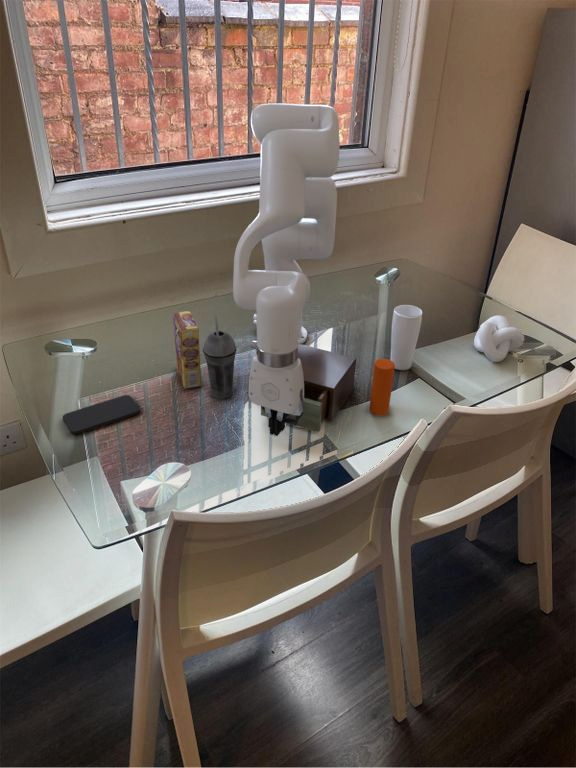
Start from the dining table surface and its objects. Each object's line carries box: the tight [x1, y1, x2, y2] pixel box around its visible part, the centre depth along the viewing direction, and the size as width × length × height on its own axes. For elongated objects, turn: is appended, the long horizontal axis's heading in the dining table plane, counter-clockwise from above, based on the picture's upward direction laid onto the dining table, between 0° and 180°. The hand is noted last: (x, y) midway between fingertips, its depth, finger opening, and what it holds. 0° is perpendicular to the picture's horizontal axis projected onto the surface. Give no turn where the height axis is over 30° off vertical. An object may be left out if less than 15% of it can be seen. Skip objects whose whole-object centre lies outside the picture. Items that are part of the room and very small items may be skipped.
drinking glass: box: [389, 304, 423, 371], centre depth 144 cm, size 7×7×15 cm
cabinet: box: [298, 343, 357, 422], centre depth 134 cm, size 14×15×9 cm
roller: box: [368, 358, 395, 417], centre depth 129 cm, size 4×4×12 cm
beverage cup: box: [202, 315, 238, 400], centre depth 131 cm, size 7×7×20 cm
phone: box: [62, 394, 141, 435], centre depth 129 cm, size 7×1×15 cm
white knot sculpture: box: [473, 314, 525, 363], centre depth 152 cm, size 11×12×9 cm
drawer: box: [260, 384, 330, 434], centre depth 128 cm, size 17×13×7 cm
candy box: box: [172, 311, 202, 389], centre depth 138 cm, size 9×4×15 cm, turn 20°
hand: (276, 431), depth 121 cm, fingers closed
